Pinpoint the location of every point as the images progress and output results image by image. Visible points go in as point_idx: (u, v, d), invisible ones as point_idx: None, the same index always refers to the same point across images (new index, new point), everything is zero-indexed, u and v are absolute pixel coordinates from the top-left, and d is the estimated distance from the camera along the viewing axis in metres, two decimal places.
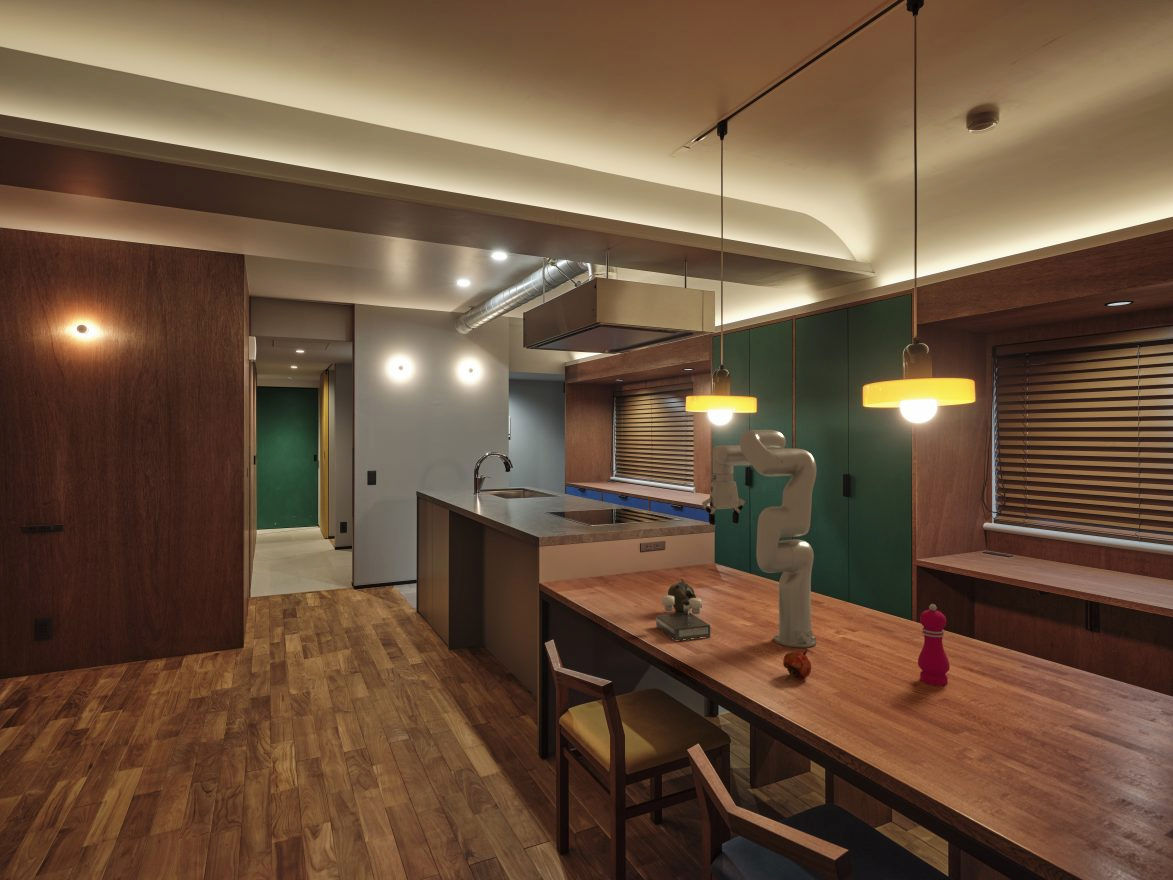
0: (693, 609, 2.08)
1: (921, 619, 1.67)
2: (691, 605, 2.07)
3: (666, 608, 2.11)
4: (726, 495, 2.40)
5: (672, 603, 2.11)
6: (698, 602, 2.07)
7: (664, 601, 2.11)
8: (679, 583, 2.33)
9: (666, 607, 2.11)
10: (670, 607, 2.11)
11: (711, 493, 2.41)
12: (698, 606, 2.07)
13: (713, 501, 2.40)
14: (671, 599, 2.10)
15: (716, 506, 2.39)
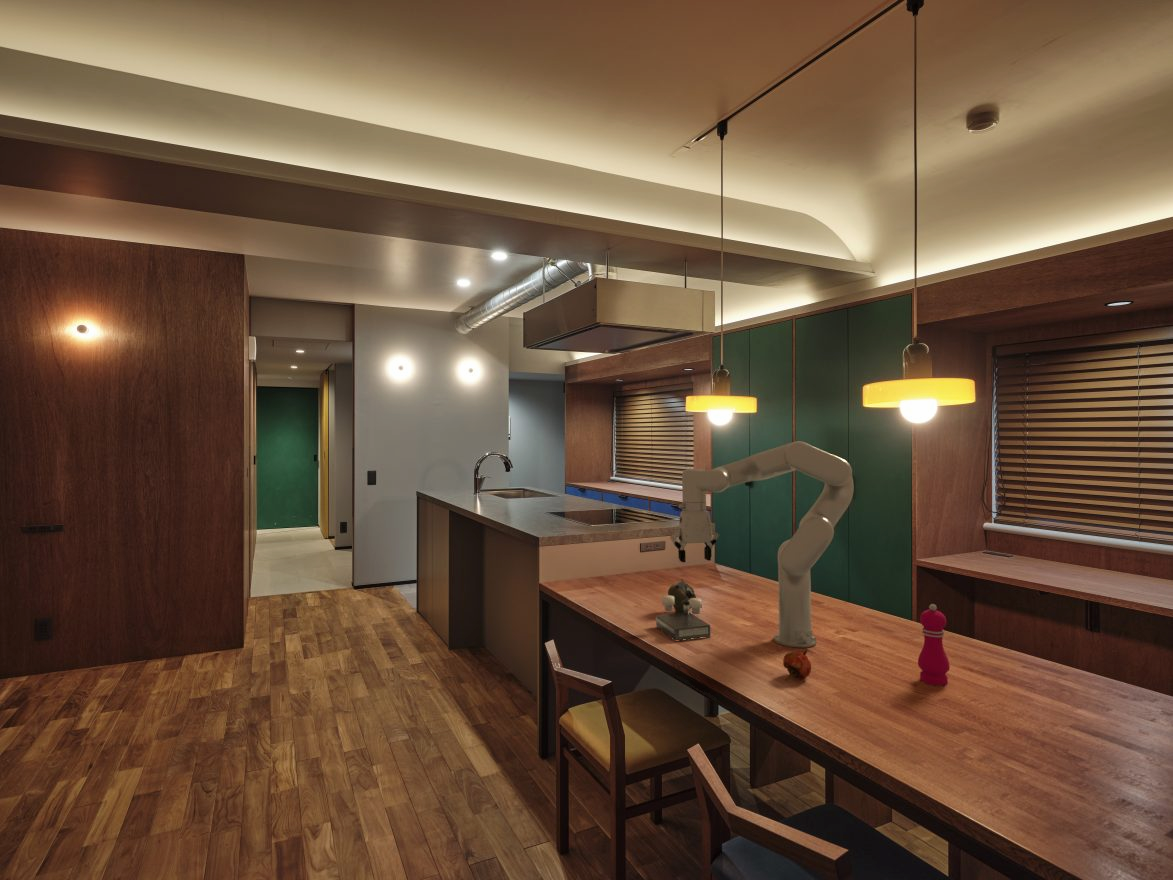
0: (693, 609, 2.08)
1: (921, 619, 1.67)
2: (691, 605, 2.07)
3: (666, 608, 2.11)
4: (697, 527, 2.06)
5: (672, 603, 2.11)
6: (698, 602, 2.07)
7: (664, 601, 2.11)
8: (679, 583, 2.33)
9: (666, 607, 2.11)
10: (670, 607, 2.11)
11: (680, 525, 2.07)
12: (698, 606, 2.07)
13: (682, 534, 2.05)
14: (671, 599, 2.10)
15: (685, 540, 2.05)
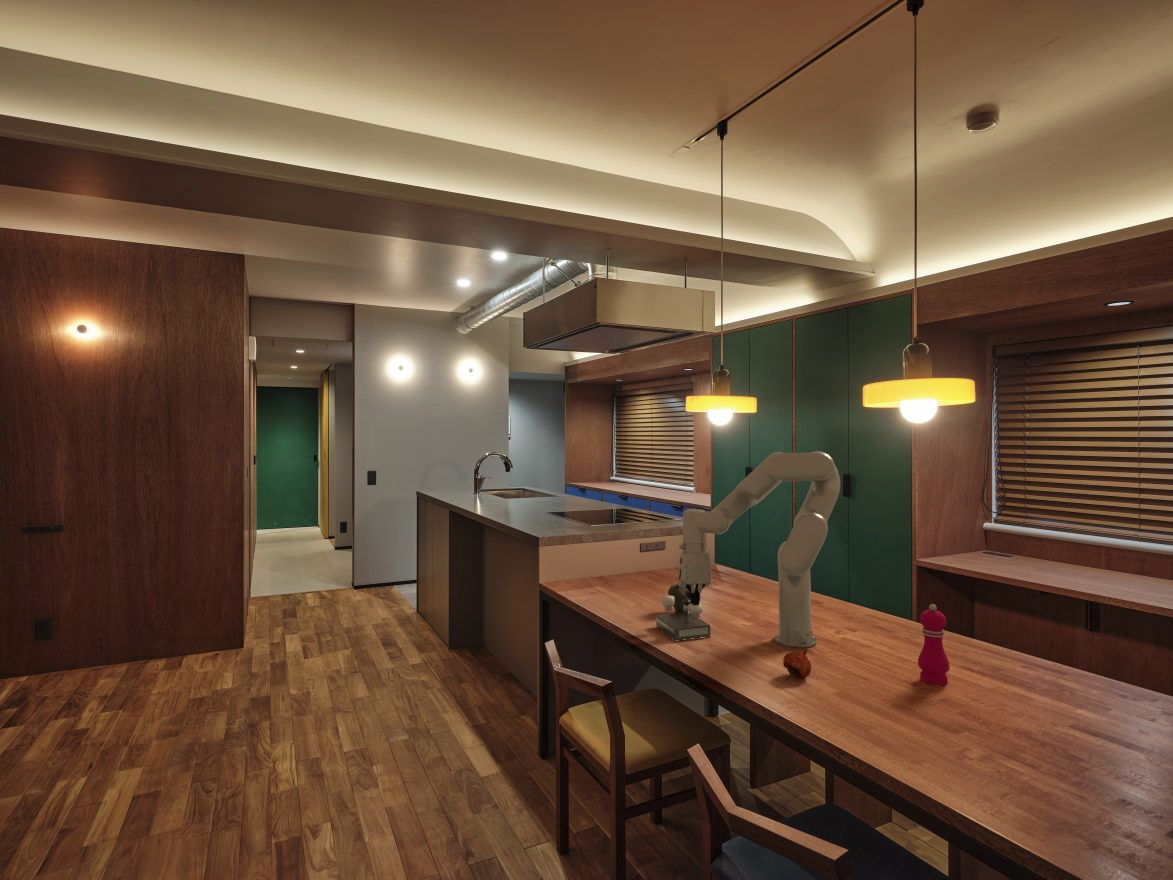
0: (693, 614, 2.08)
1: (921, 619, 1.67)
2: (691, 610, 2.07)
3: (666, 608, 2.11)
4: (697, 568, 2.06)
5: (672, 603, 2.11)
6: (698, 607, 2.07)
7: (664, 601, 2.11)
8: None
9: (666, 607, 2.11)
10: (670, 607, 2.11)
11: (680, 566, 2.07)
12: (698, 611, 2.07)
13: (682, 575, 2.05)
14: (671, 599, 2.10)
15: (686, 581, 2.05)
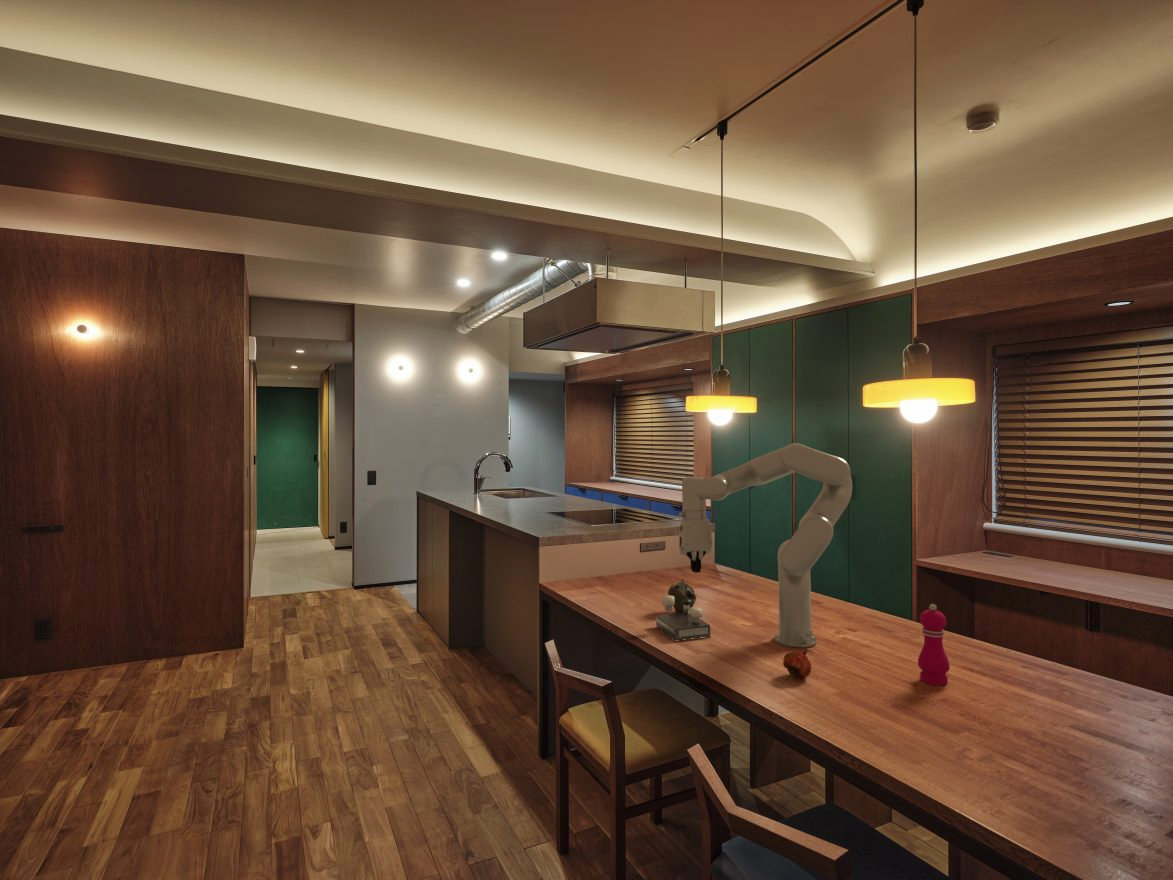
0: (693, 618, 2.08)
1: (921, 619, 1.67)
2: (691, 614, 2.07)
3: (666, 608, 2.11)
4: (698, 535, 2.06)
5: (672, 603, 2.11)
6: (698, 611, 2.07)
7: (664, 601, 2.11)
8: (679, 583, 2.33)
9: (666, 607, 2.11)
10: (670, 607, 2.11)
11: (680, 533, 2.07)
12: (698, 615, 2.07)
13: (683, 542, 2.05)
14: (671, 599, 2.10)
15: (686, 548, 2.05)
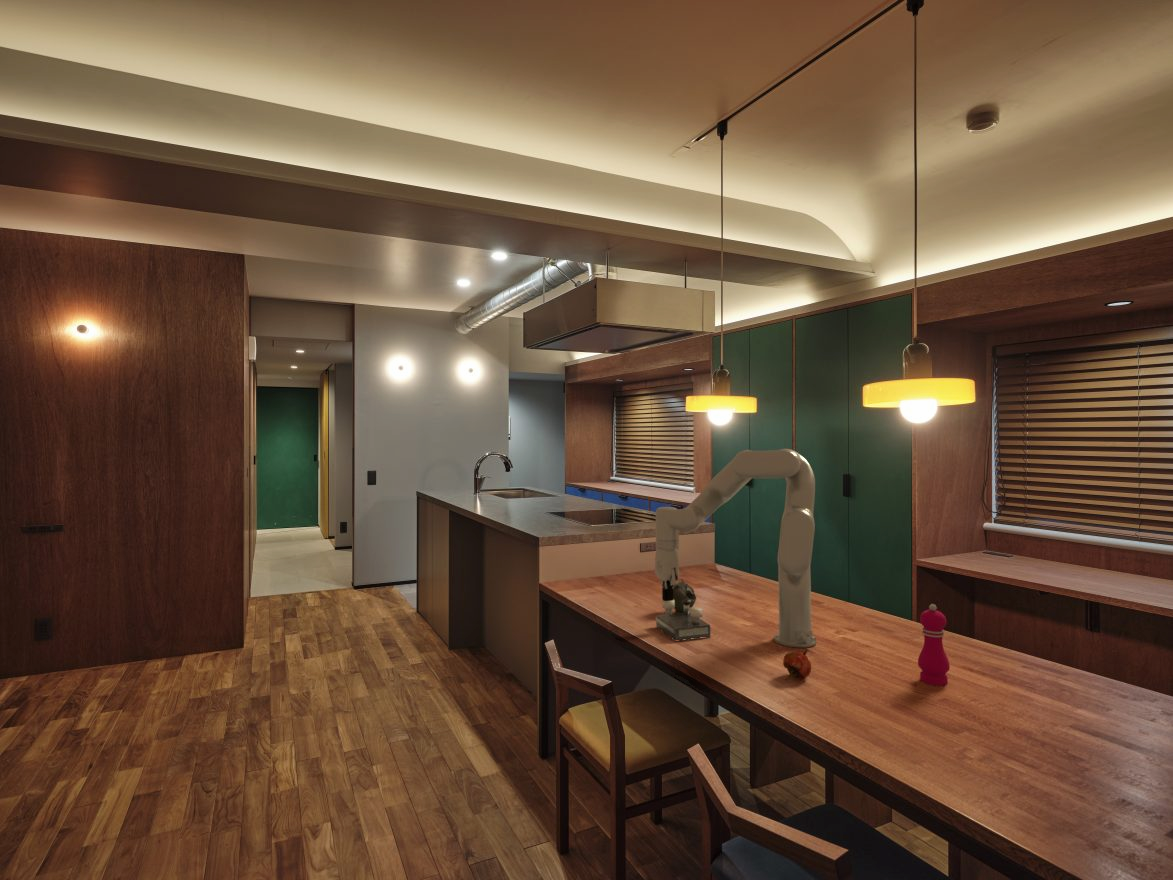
0: (693, 618, 2.08)
1: (921, 619, 1.67)
2: (691, 614, 2.07)
3: (666, 611, 2.11)
4: (659, 563, 2.12)
5: (672, 606, 2.11)
6: (698, 611, 2.07)
7: (664, 604, 2.11)
8: (679, 583, 2.33)
9: (666, 610, 2.11)
10: (670, 610, 2.11)
11: None
12: (698, 615, 2.07)
13: None
14: (671, 602, 2.10)
15: (655, 573, 2.16)
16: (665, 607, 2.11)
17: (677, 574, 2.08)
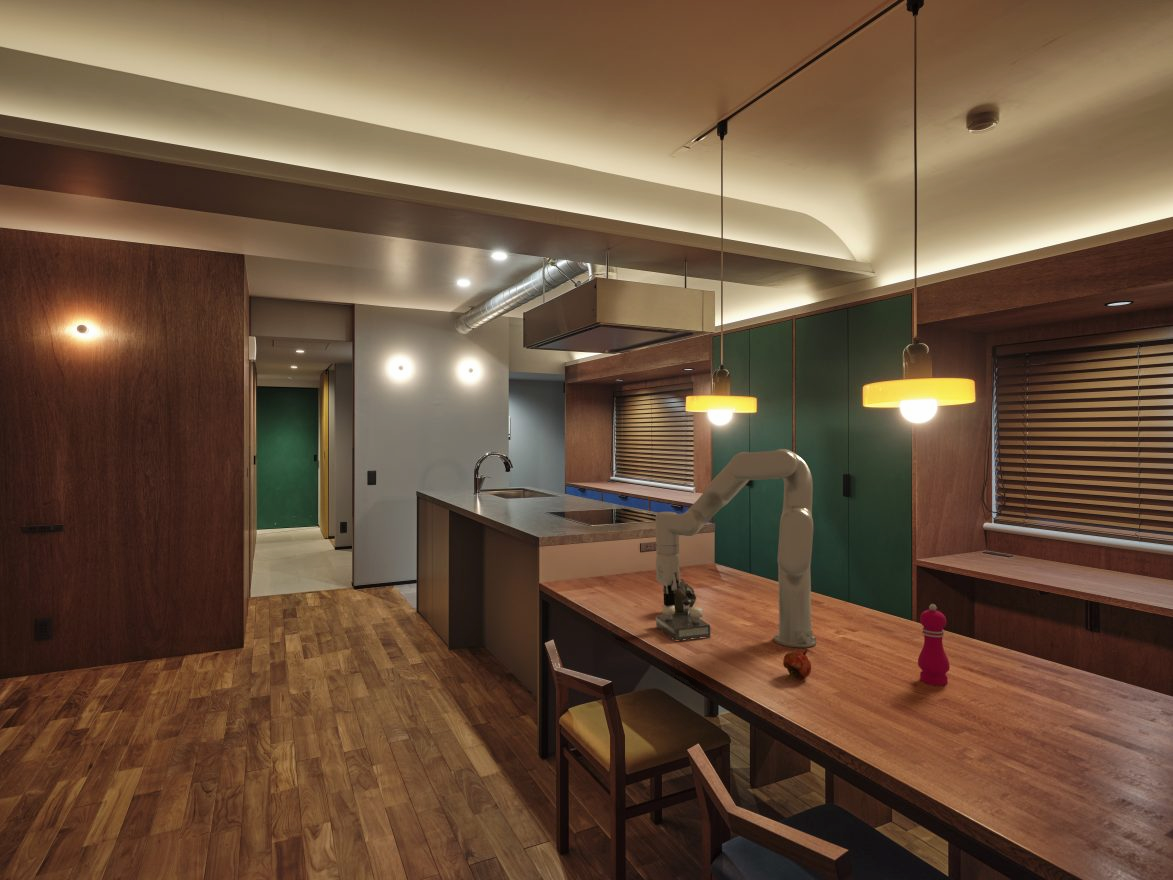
0: (693, 618, 2.08)
1: (921, 619, 1.67)
2: (691, 614, 2.07)
3: (666, 617, 2.11)
4: (660, 568, 2.12)
5: (672, 612, 2.11)
6: (698, 611, 2.07)
7: (664, 610, 2.11)
8: None
9: (666, 616, 2.11)
10: (670, 616, 2.11)
11: None
12: (698, 615, 2.07)
13: None
14: (671, 608, 2.10)
15: (656, 578, 2.16)
16: (665, 613, 2.11)
17: (678, 579, 2.08)
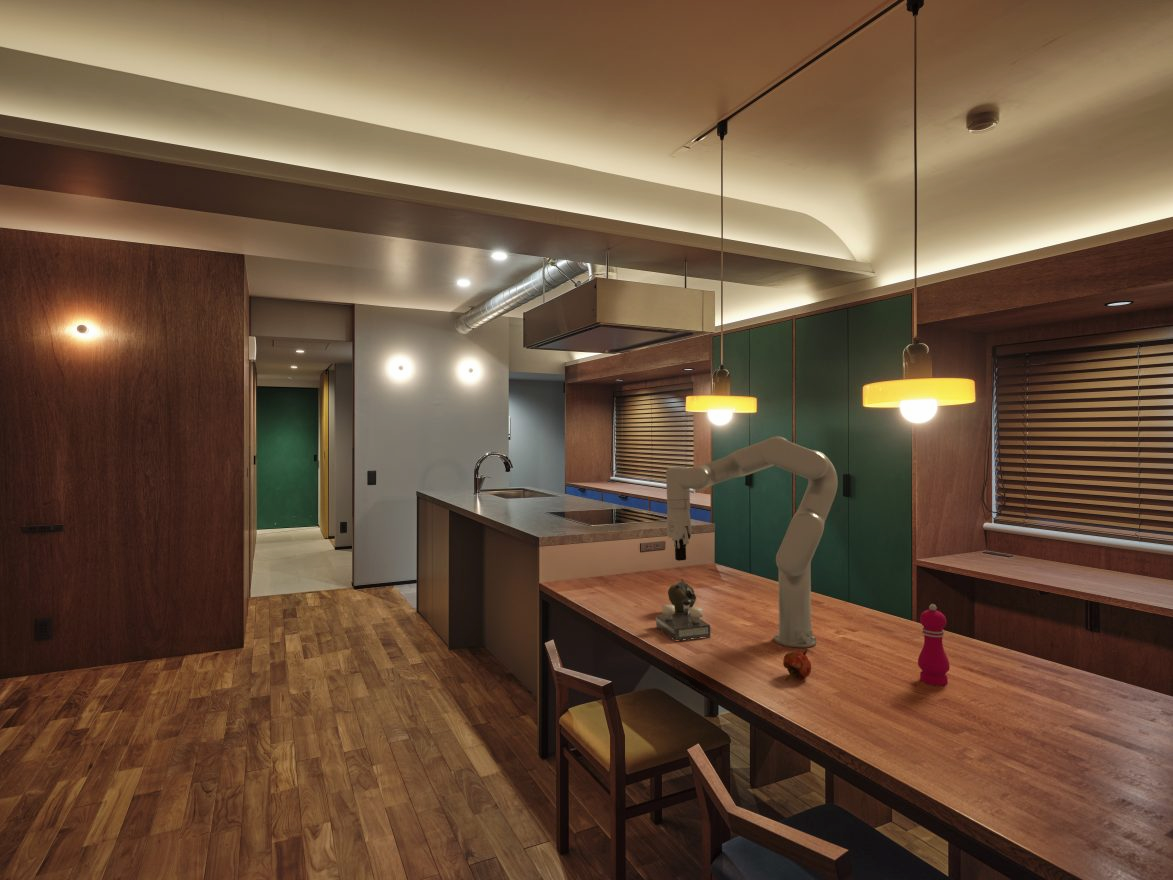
0: (693, 618, 2.08)
1: (921, 619, 1.67)
2: (691, 614, 2.07)
3: (666, 617, 2.11)
4: (671, 523, 2.12)
5: (672, 612, 2.11)
6: (698, 611, 2.07)
7: (664, 610, 2.11)
8: (679, 583, 2.33)
9: (666, 616, 2.11)
10: (670, 616, 2.11)
11: None
12: (698, 615, 2.07)
13: None
14: (671, 608, 2.10)
15: (667, 534, 2.16)
16: (665, 613, 2.11)
17: (690, 532, 2.08)
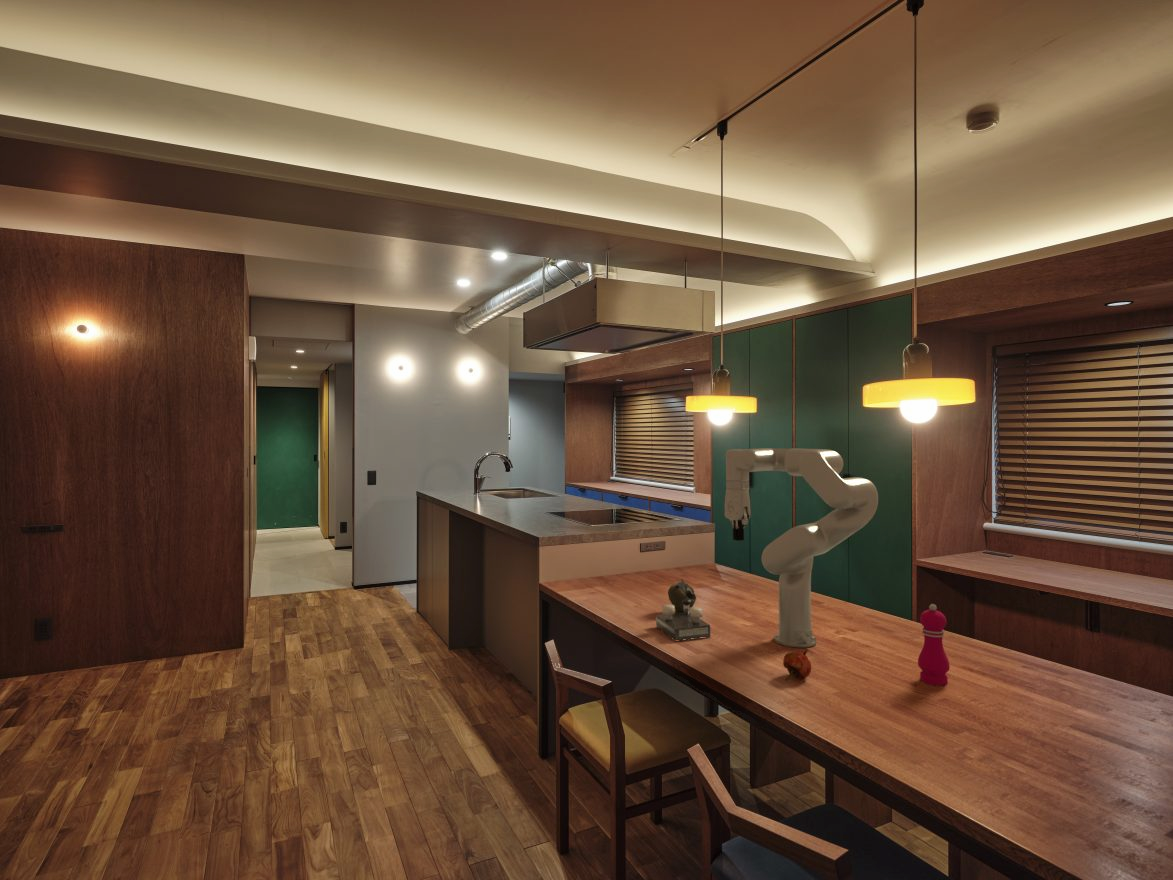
0: (693, 618, 2.08)
1: (921, 619, 1.67)
2: (691, 614, 2.07)
3: (666, 617, 2.11)
4: (730, 504, 2.16)
5: (672, 612, 2.11)
6: (698, 611, 2.07)
7: (664, 610, 2.11)
8: (679, 583, 2.33)
9: (666, 616, 2.11)
10: (670, 616, 2.11)
11: None
12: (698, 615, 2.07)
13: None
14: (671, 608, 2.10)
15: None
16: (665, 613, 2.11)
17: (749, 513, 2.13)
